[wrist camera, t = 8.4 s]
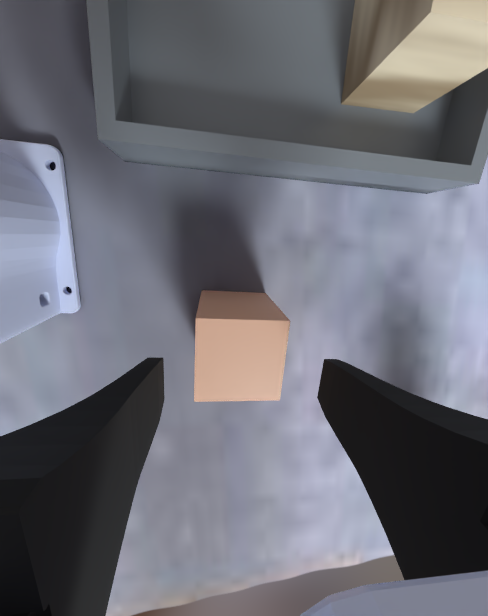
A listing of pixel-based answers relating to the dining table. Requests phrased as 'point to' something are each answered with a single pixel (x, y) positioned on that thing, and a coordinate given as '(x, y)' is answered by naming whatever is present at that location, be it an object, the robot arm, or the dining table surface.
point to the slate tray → (268, 97)
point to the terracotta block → (239, 347)
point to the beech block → (413, 51)
